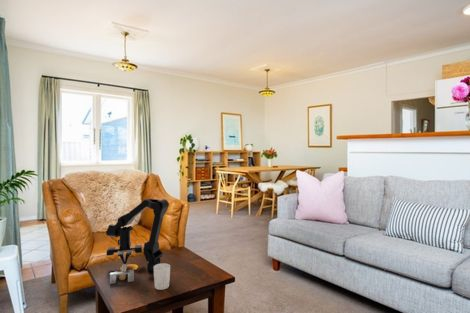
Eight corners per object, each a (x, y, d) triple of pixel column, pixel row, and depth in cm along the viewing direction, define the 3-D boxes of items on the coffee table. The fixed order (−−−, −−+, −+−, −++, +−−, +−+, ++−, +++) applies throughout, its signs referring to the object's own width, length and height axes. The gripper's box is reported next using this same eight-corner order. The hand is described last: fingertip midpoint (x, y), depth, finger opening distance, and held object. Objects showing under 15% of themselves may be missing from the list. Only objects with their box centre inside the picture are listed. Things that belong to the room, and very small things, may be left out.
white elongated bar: (121, 268, 168) (121, 262, 168) (127, 267, 169) (127, 262, 169) (118, 280, 152) (118, 274, 152) (125, 279, 153) (125, 273, 153)
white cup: (155, 283, 150) (155, 263, 150) (171, 282, 151) (171, 263, 150) (152, 290, 142) (152, 270, 142) (169, 290, 143) (169, 269, 142)
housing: (134, 275, 158) (134, 267, 158) (133, 281, 152) (133, 271, 152) (111, 278, 155) (111, 269, 155) (109, 283, 149) (109, 274, 149)
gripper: (142, 232, 180) (142, 258, 181) (108, 235, 175) (109, 261, 176) (141, 238, 170) (142, 265, 170) (106, 240, 165) (106, 268, 165)
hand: (124, 265), depth 171 cm, fingers closed
